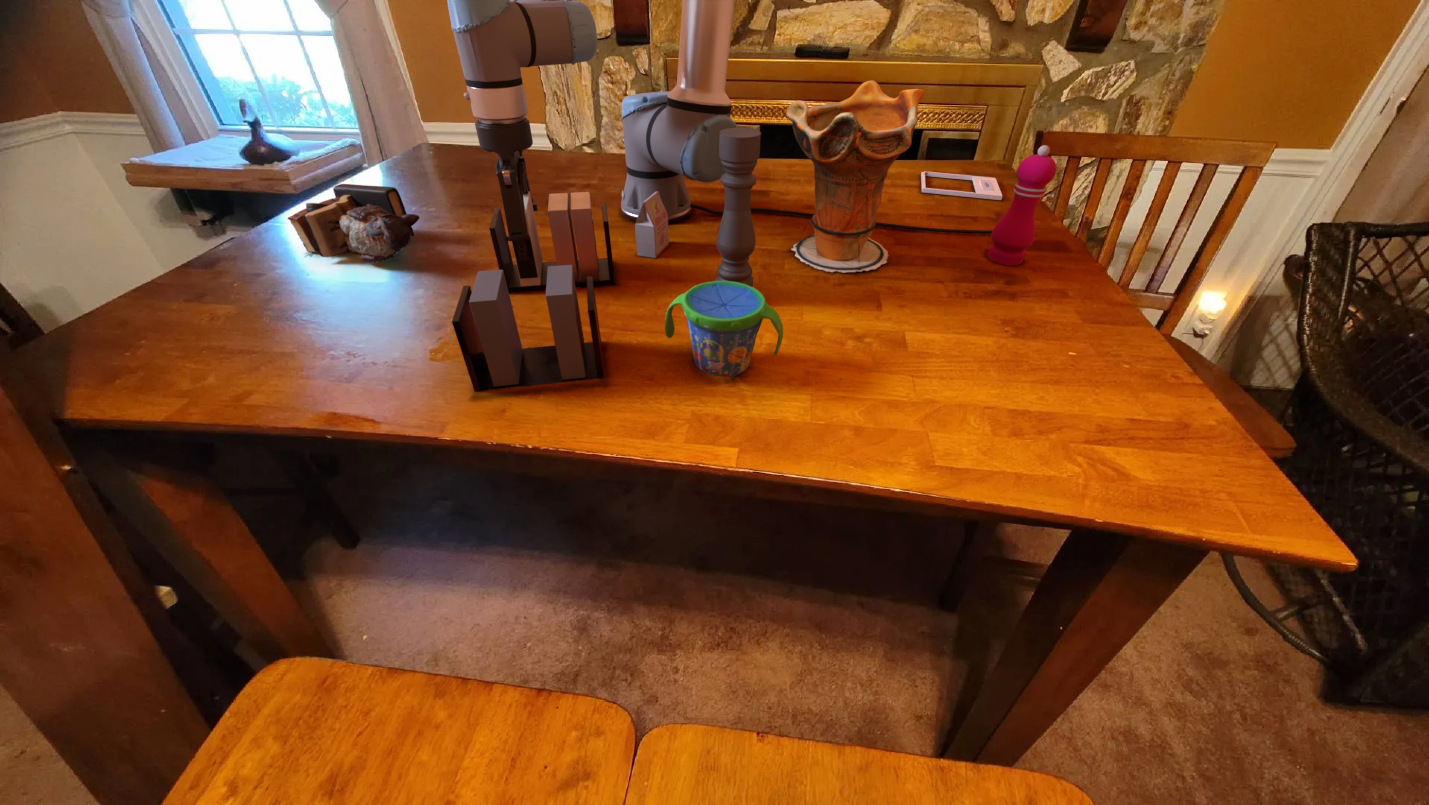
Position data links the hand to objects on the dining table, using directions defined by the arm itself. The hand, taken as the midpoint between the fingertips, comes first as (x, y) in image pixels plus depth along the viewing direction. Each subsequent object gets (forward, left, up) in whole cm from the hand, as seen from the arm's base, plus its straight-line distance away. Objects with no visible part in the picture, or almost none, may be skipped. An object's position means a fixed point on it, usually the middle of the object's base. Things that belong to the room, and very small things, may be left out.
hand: (531, 263), depth 93 cm
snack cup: (-27, +31, -3) cm, 41 cm away
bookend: (+28, -16, -3) cm, 33 cm away
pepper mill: (-87, +6, -3) cm, 87 cm away
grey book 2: (-7, +28, -2) cm, 29 cm away
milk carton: (-22, -9, -3) cm, 24 cm away
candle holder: (-33, +12, -3) cm, 35 cm away
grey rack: (-3, +28, -3) cm, 28 cm away
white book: (0, 0, -2) cm, 2 cm away
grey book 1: (+2, +28, -2) cm, 28 cm away
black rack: (-5, 0, -3) cm, 5 cm away
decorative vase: (-56, -1, -3) cm, 56 cm away
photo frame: (-101, -34, -3) cm, 106 cm away
